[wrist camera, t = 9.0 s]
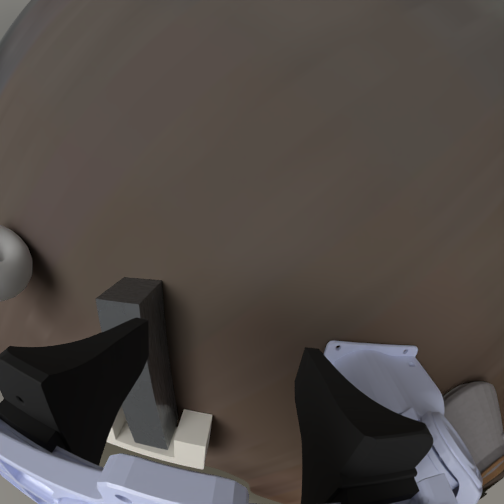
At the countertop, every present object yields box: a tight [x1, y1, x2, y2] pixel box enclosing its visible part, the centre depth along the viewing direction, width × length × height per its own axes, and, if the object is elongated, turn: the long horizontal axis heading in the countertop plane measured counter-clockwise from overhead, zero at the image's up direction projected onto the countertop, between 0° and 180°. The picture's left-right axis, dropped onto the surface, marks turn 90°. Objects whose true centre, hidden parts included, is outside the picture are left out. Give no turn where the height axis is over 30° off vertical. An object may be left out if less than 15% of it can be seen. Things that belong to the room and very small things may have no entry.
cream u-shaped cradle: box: [106, 406, 212, 469], centre depth 24 cm, size 12×5×4 cm, turn 81°
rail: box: [96, 277, 179, 450], centre depth 22 cm, size 4×16×5 cm, turn 178°
